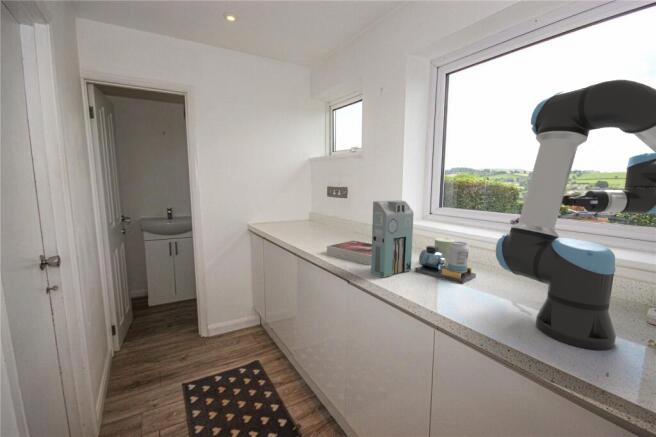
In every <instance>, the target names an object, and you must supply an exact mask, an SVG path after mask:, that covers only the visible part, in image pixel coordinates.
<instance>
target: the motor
mask: <svg viewBox="0 0 656 437" xmlns="http://www.w3.org/2000/svg"><path fill="white" fill-rule="evenodd" d="M425 247H426V248H425V249H423V250H422V251H421V252H420V254H419V257H418V258H419V259H418V261H419V264H420V266H418V267H415V269H414V270H415V273H420V274H424V275H426V276H427V275H428V276H432V277H435V278H439V279H442V280H443V279H444V280H447V281H451V282H455V283H457V284H461V285H464V284H465V283H468V282H469V281H471V280H473V279H475V278H476V276H477V274H476V273H475V272H472V271H473V267H468V266H467V272H465V273H464V274H461V273H458V272H454V271H450V270H448V266H444V265H445V264H446V259H445V256H444V254H443V253H438V252H439V247H435V245H428V246H425Z"/></svg>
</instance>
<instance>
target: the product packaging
mask: <svg viewBox="0 0 656 437" xmlns="http://www.w3.org/2000/svg"><path fill="white" fill-rule="evenodd" d="M326 254H327V255H328V256H333V257H336V258H341V259H345V260H348V261H353V262H356V263H361V264H364V265H368V266H371V256H372V243H371V242H365V241H364V242H363V241H358V240H355V239H354V240H348V241H344V242H339V243H334V244H329V245H327V246H326Z"/></svg>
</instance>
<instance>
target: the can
mask: <svg viewBox="0 0 656 437" xmlns="http://www.w3.org/2000/svg"><path fill="white" fill-rule="evenodd" d="M452 242H457V241H456V239H453V238H448V237H436V238H434V247H439V252H438V253H443V254H444V256H445V259H446V264H445V265H444V266H445V267H448V262H449V247H450V245H451V244H452Z"/></svg>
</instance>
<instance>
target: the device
mask: <svg viewBox="0 0 656 437" xmlns="http://www.w3.org/2000/svg"><path fill="white" fill-rule="evenodd" d="M414 216H415V215H414V211H413V209H412V208H411V206H410V205H409V204H408V202H407V201H406V200H400V199H399V200H377V201H372V222H371V224H372V227H371V228H372V229H371V230H372V232H371V244H372V256H371V265H370V267H371V268H370V273H371V274H372V275H375V276H377V275H378V277H381V278H383V279H384V278H389V277H390V276H396V275H399V274H403V273H407V272H410V271H411V270H412V255H413V252H412V251H413V232H414Z"/></svg>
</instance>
